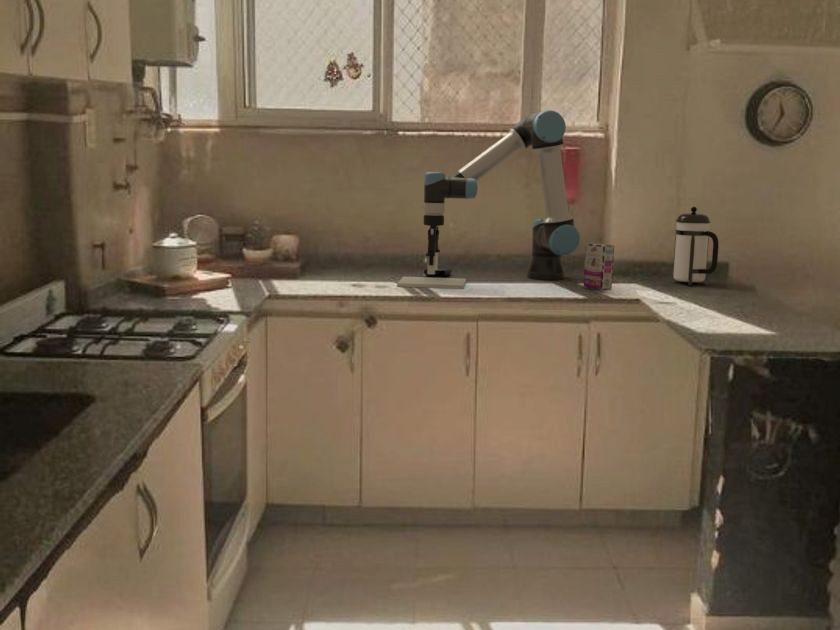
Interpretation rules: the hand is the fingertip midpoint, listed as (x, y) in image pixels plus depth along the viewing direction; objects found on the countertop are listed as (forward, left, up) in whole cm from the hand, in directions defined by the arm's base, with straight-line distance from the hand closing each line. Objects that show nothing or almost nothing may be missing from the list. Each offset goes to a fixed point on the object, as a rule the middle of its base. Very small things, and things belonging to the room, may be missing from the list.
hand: (432, 272), depth 339 cm
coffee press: (-99, -25, -5) cm, 103 cm away
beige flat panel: (0, 0, -4) cm, 4 cm away
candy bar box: (-61, -4, -5) cm, 61 cm away
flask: (0, -19, -6) cm, 19 cm away
